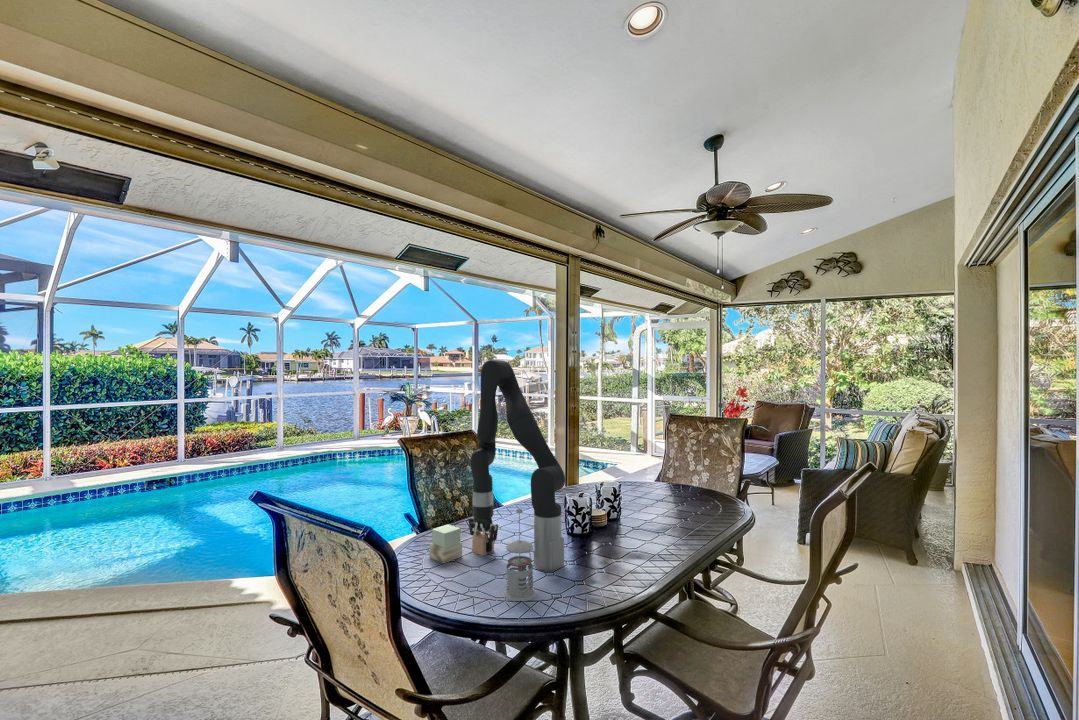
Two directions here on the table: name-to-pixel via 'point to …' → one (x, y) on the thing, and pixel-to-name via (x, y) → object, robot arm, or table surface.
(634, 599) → the table surface
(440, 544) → the sage top block
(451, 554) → the birch base block
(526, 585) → the french press
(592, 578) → the table surface
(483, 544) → the terracotta block
